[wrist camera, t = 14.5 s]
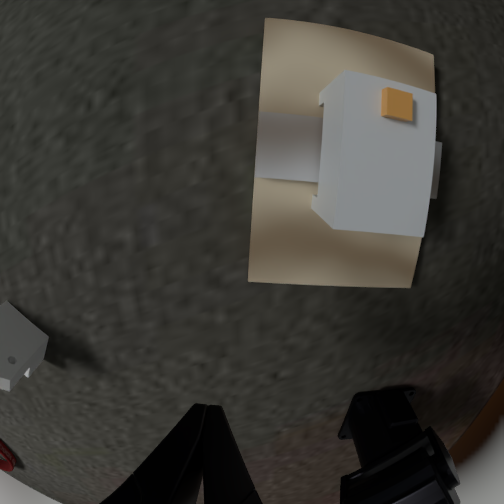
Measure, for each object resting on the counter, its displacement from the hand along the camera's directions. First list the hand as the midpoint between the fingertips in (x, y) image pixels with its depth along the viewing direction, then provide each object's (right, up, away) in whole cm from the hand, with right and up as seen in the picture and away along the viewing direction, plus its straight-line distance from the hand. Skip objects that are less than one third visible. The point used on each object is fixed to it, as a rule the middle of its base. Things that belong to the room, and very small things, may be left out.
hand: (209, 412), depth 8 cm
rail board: (+7, +11, +9) cm, 16 cm away
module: (+7, +10, +8) cm, 15 cm away
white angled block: (-20, -3, +14) cm, 25 cm away
